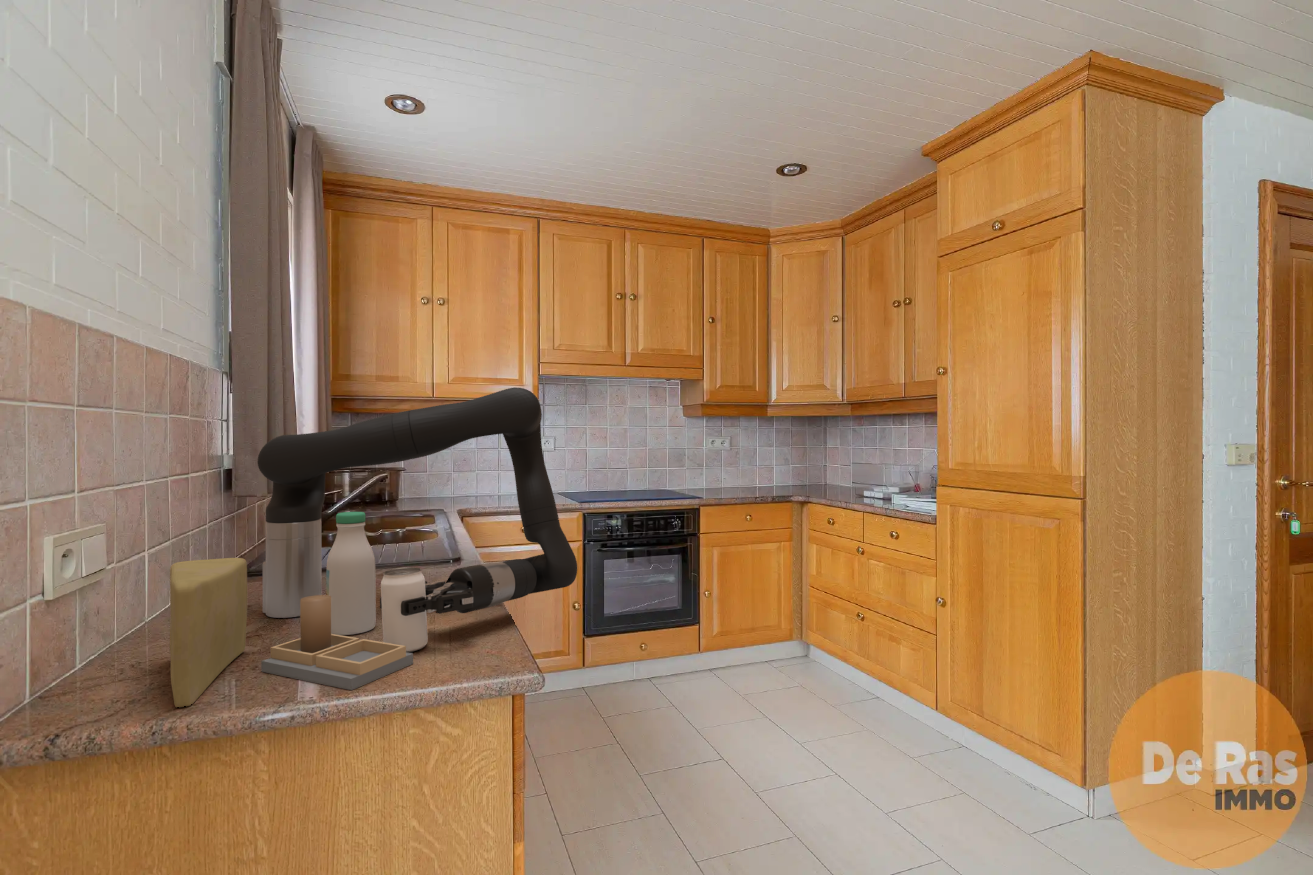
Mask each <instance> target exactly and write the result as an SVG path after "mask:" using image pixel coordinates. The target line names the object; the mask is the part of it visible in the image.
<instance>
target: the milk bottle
mask: <svg viewBox="0 0 1313 875" xmlns="http://www.w3.org/2000/svg"><path fill="white" fill-rule="evenodd" d="M366 516H367V515H366V513H365V512H364V511H346V512H345V511H343V512H338V513H337V514H336V515H335V522H336V524H335V526H336V527H337V531H336V536H335V539H334V542H333V545H332V546H331V548H330V551H329V553H328V556H327V560H326V568H325V569H326V574H325V575H326V576H325V577H326V578H325V580H326V581H325V595H329V596H331V634H336V635H342V636H349V635H358V634H363V633H366V632H369V631H371V630H373V629H374V628H375V626H376V624H377V620H376V619H377V604H376V602H377V599H376V598H377V587H376V585H377V584H376V582H377V581H376V580H377V579H376V577H377V576H376V558H375V554H374V551H373V548H372V547H371V544H370V543H369V540H368V538H367V534H366V532H365V526H366V519H367V518H366Z"/></svg>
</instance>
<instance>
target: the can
mask: <svg viewBox="0 0 1313 875" xmlns="http://www.w3.org/2000/svg"><path fill="white" fill-rule="evenodd" d="M422 570H423V569H422V568H421V567H418V566H417V567H415V566H411V567H409V566H407V567H406V566H405V567H397V568H391V569H387V570H385V571H384V572H382V574H383V577H382V579H381V582H380V597H381V603H382V609H381V620H382V621H381V622H382V638H383V639H382V642H384V643H391V644H397V645H403V646H406V652H407V653H413V652H416V651H418V650H421V649H424V648H425V647H426V646H427V644H428V619H427V618H428V617H427V615H428V614H427V613H428V612H426V610H425V612H421V613H417V614H412V615H408V616H404V615H402V614H401V602H402V601H404V600H409V599H415V598H419V597H425V599H426V592H425V581H426V579H425V576H424V574H423V573H422Z"/></svg>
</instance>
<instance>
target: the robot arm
mask: <svg viewBox="0 0 1313 875" xmlns="http://www.w3.org/2000/svg"><path fill="white" fill-rule="evenodd" d="M542 416H543V414H542V407H541V403H540V400H539V399H538V397H537V396H536V394H534V393H533V392H532V391H531V390H529V389H526V388H524V387H516V386H515V387H508V388H504V389H502V390H499V391H496V392H493V393H489V394H486V395H482V396H481V397H480V396H479V397H476V398H474V399H473V398H472V399H469V400H466V401H465V400H464V401H461V402H453V403H446V404H441V405H440V404H439V405H438V404H437V405H434V406H427V407H422V408H415V409H409V410H405V411H399V412H395V413H391V414H386V415H383V416H379V417H374V418H371V419H367V420H363V421H361V422H357V423H353V424H351V425H347V426H345V427H340V428H336V429H332V430H326V431H320V432H319V431H317V432H310V433H299V434H298V433H297V434H282V435H279V436H276V437H274V438H272V439H271V440H269V441H267V442H266V443H265V444H264V446H262V448H261V449H260V450H259V453H258V456H257V467H258V469H259V471H260V473H261V474H262V475H263V476H264V478H266V479H268V480H269V481H270V482H272V494H271V498H270V500H269V503H268V504H267V506H266V508H265V561H263V562H262V614H265V615H266V617H269V618H275V619H276V618H278V619H280V618H283V619H286V618H297V617H300V599H302V598H304V597H308V596H314V595H323V594H322V593H323V592H322V585H323V584H322V583H323V580H322V579H323V578H322V572H323V571H322V565H323V564H322V559H323V558H322V511H323V506H324V503H325V499H326V498H325V497H326V494H325V493H326V474H327V473H330V472H335V471H337V470H342V469H347V468H356V467H366V466H378V465H385V464H392V463H400V462H404V461H409V460H414V459H420V458H423V457H427V456H431V455H434V454H436V453H439V452H442V451H445V450H446V449H450V448H451V447H453V446H456V445H459V444H461V443H462V442H466V441H468V440H472V439H476V438H481V437H488V436H495V435H502V436H503V439H504V440H505V443H506V446H507V450H508V451H509V454H510V455H509V456H510V459H511V462H512V465H513V466H512V468H513V471H514V481H515V488H516V497H517V504H518V510H519V514H520V515H519V516H520V519H521V524H522V528H523V529H522V530H523V532H524V533H523V534H524V537H525V539H526V541H528V542H529V543H533V544H534V543H536V544H538V545H539V546H540V548H541V550H542V552H543V553H541V554H538V555H534V556H529V557H525V558H522V559H521V558H515V559H509V560H503V561H497V562H492V561H491V562H486V563H480V564H475V565H469V566H464V567H458V568H455V569H454V570H453V571H452V572H451V573H450V574H449V576H448V578H447V580H435V581H433V582H428V581H427V580H425V592H426V599H425V597H419V598H415V599H409V600H404V601H402V602H401V614H402V615H404V616H408V615H412V614H417V613H421V612H425V610H426V613H433V612H435V611H436V612H435V613H436V614H439V615H441V614H444V613H449V612H457V613H460V614H468V613H471V612H475V611H479V610H484V609H487V608H488V609H489V608H492V607H495V606H498V605H500V604H503V603H506V602H509V601H513V600H517V599H520V598H523V597H526V596H528V595H530V594H536V593H541V592H547V591H552V590H558V589H563V588H567V587H570V586H571V585H572V584H573V583H575V580H576V577H577V574H578V562H577V558H576V555H575V553H574V550H573V549H572V547H571V545H570V543H569V540H568V539H567V537H566V534H565V533H564V531H563V529H562V526H561V523H560V520H559V519H560V518H559V514H558V509H557V504H556V500H555V495H554V493H553V492H554V491H553V489H552V485H551V482H550V478H549V475H548V472H547V467H546V464H545V459H544V452H543V446H542V426H541V423H542V419H543V418H542ZM379 608H380V610H382V603H381V596H380V597H379Z"/></svg>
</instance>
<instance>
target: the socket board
mask: <svg viewBox="0 0 1313 875" xmlns="http://www.w3.org/2000/svg"><path fill="white" fill-rule="evenodd" d="M299 617H300V619H299V620H300V626H299V627H300V628H299V629H300V632H299V633H300V636H299V638H297V639H294V640H290V641H287V642H286V641H285V642H284V643H281V644H277V645H274V646H271V647H270V657H269V658H267V659H262V660H261V661H260V662H261V665H260V666H261V669H260V670H261V672H262V673H266V674H267V673H268V674H271V675H276V676H281V677H285V678H290V679H296V680H300V681H304V682H310V683H314V684H320V685H324V686H329V687H333V688H339V689H343V690H349V691H353V690H356V689H358V688H360V687H362V686H365V685H367V684H369V683H372V682H374V681H376V680H379V679H381V678H383V677H386V676H388V675H390V674H392V673H396V672H397V671H400V670H402V669H404V668H406V667H409V666H411V665H413V664H414V653H413V652H406V646H403V645H397V644H391V643H384V642H383V641H377V640H371V639H366V638H363V639H360V638H358V637H355V636H354V637H353V636H349V635H336V634H331V596H329V595H326V594H322V595H314V596H308V597H304V598H302V599H300V616H299Z"/></svg>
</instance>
